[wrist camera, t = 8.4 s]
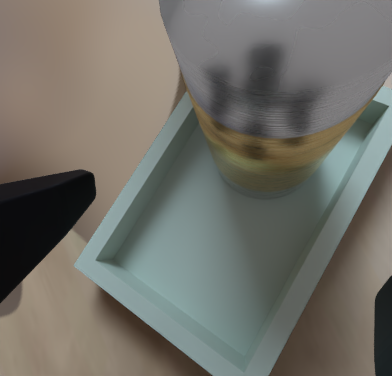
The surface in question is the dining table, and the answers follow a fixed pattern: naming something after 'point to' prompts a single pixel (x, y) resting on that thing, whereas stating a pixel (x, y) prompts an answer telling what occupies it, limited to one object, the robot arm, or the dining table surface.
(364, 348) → the dining table surface
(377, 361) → the robot arm
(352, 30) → the tin can
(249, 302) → the pale green tray
